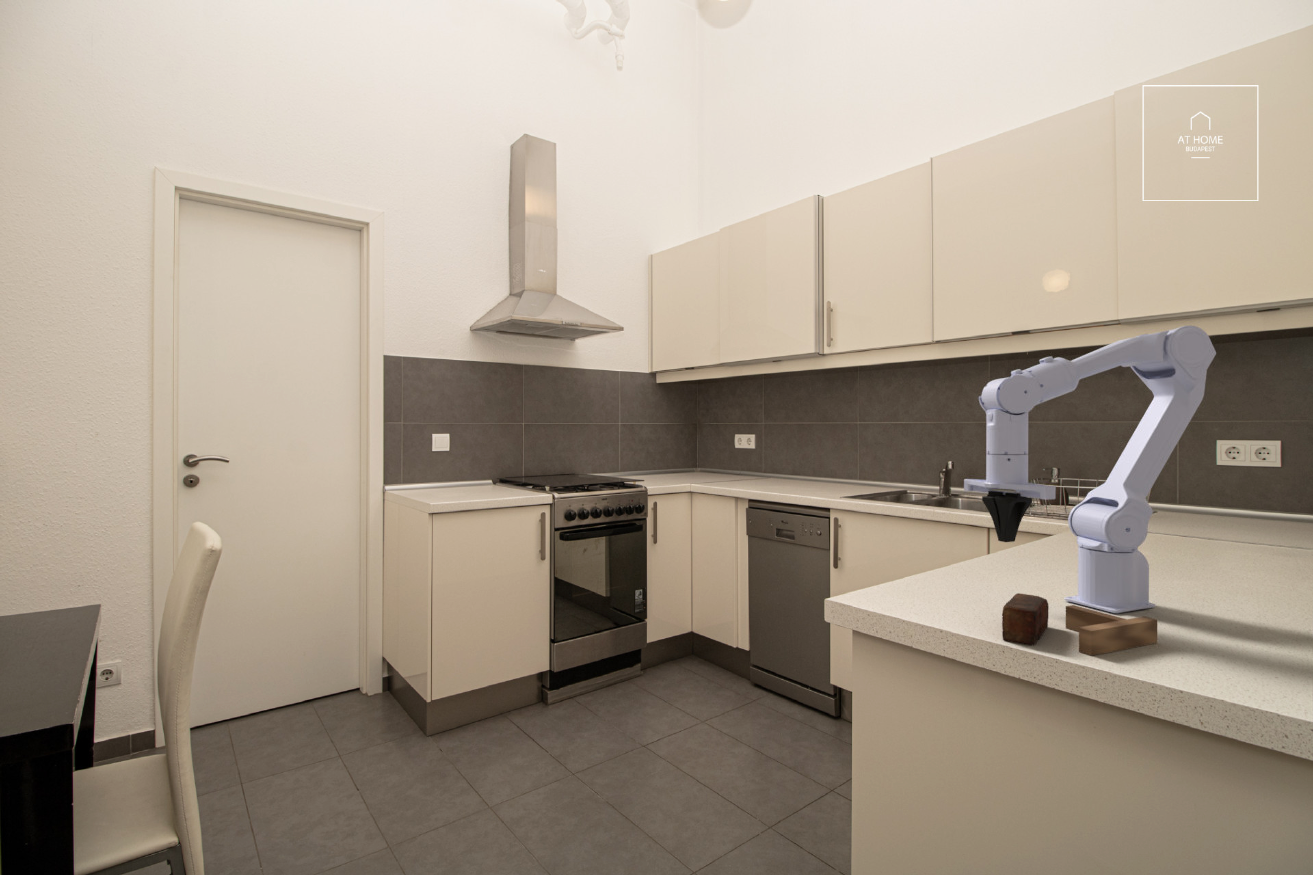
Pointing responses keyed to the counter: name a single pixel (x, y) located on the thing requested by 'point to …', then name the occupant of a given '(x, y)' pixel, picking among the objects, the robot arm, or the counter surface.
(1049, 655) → the counter surface
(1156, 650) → the counter surface
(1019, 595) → the brick
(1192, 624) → the counter surface
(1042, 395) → the robot arm
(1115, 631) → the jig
